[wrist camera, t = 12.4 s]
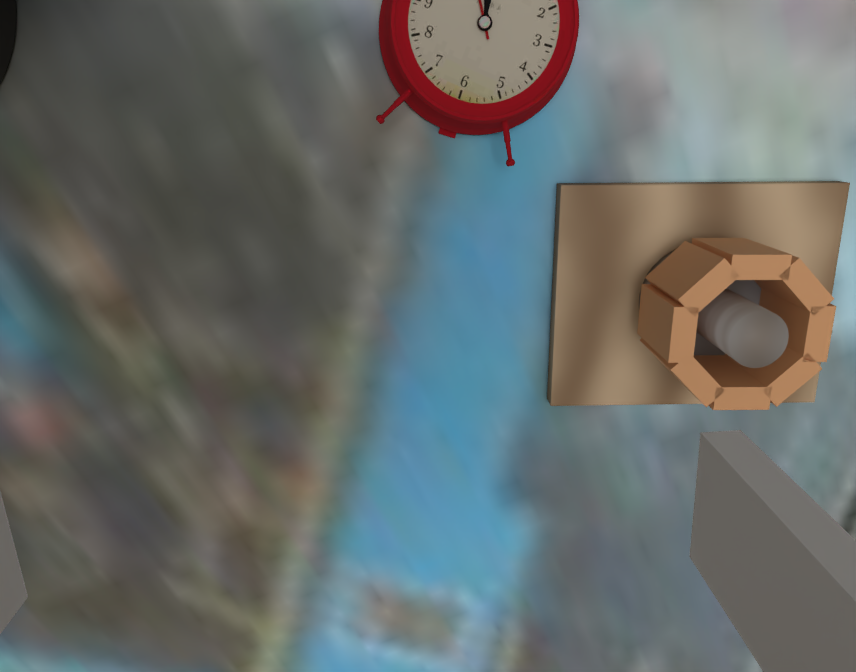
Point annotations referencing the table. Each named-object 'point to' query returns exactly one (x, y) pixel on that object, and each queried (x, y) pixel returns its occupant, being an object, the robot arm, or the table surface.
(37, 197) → the table surface
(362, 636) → the table surface
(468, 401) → the table surface
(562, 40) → the alarm clock
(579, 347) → the post board
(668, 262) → the ring
